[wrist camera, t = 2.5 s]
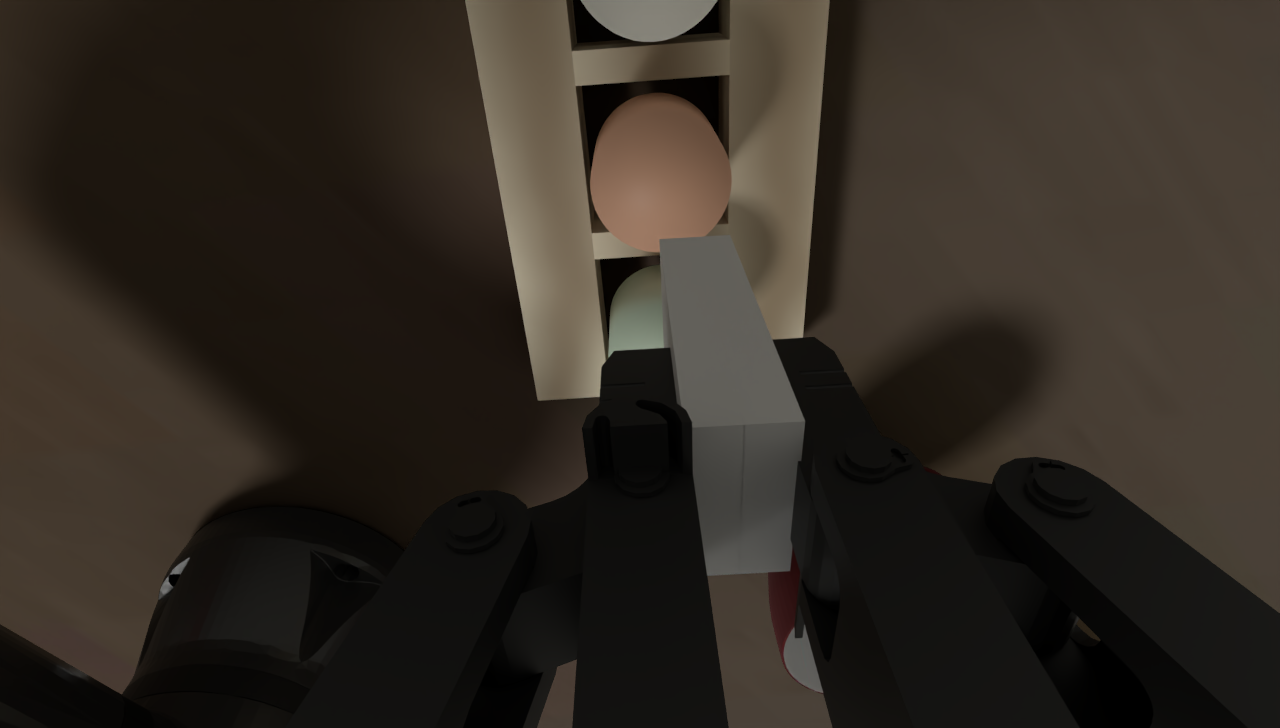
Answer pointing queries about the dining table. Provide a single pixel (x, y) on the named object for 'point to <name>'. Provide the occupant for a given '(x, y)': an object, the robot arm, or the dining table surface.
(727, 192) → the button terracotta
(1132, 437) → the dining table surface
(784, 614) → the mug
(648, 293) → the button sage
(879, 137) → the dining table surface
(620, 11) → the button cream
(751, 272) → the button board
